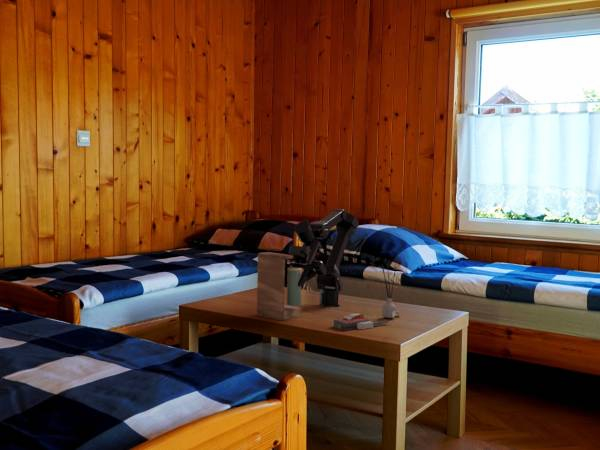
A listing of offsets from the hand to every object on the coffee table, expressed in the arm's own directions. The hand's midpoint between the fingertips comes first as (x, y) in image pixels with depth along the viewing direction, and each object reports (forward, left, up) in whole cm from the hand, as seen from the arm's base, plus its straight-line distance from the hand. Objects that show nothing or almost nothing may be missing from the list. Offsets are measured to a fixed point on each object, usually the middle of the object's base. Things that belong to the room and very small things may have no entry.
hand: (292, 285), depth 229 cm
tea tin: (-1, -1, -7) cm, 7 cm away
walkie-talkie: (-20, +16, -12) cm, 28 cm away
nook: (+3, -5, -12) cm, 13 cm away
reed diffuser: (-35, +5, -12) cm, 37 cm away
